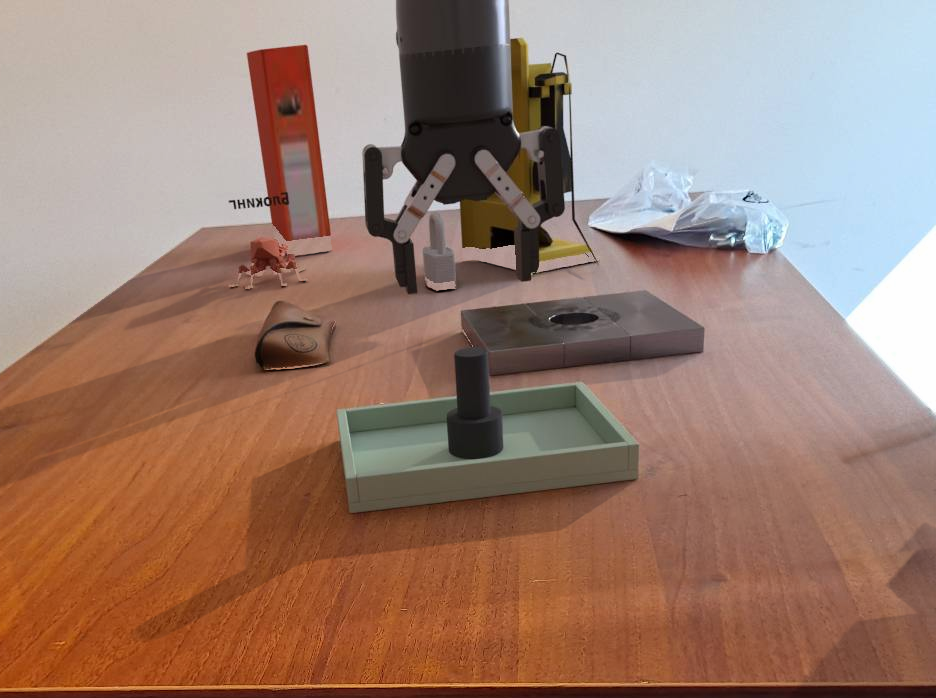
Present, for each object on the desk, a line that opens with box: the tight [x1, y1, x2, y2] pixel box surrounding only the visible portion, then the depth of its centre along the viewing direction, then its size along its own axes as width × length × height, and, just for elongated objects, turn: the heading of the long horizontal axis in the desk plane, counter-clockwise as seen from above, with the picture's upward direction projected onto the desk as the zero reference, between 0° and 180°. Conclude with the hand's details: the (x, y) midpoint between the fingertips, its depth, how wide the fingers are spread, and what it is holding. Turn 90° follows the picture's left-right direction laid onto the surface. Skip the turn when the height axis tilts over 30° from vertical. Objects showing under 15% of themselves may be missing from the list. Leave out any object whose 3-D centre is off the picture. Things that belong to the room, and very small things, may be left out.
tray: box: [336, 381, 640, 514], centre depth 78 cm, size 22×16×3 cm
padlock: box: [422, 211, 457, 283], centre depth 134 cm, size 7×4×10 cm, turn 11°
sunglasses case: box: [253, 300, 336, 370], centre depth 113 cm, size 18×7×7 cm
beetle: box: [228, 192, 297, 275], centre depth 148 cm, size 15×12×13 cm
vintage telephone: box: [459, 37, 600, 266], centre depth 138 cm, size 31×14×30 cm, turn 26°
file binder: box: [246, 44, 332, 241], centre depth 167 cm, size 8×17×32 cm, turn 14°
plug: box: [446, 346, 503, 459], centre depth 76 cm, size 4×4×8 cm
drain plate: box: [460, 289, 706, 377], centre depth 106 cm, size 22×18×2 cm
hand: (468, 285), depth 73 cm, fingers open, 8 cm apart
